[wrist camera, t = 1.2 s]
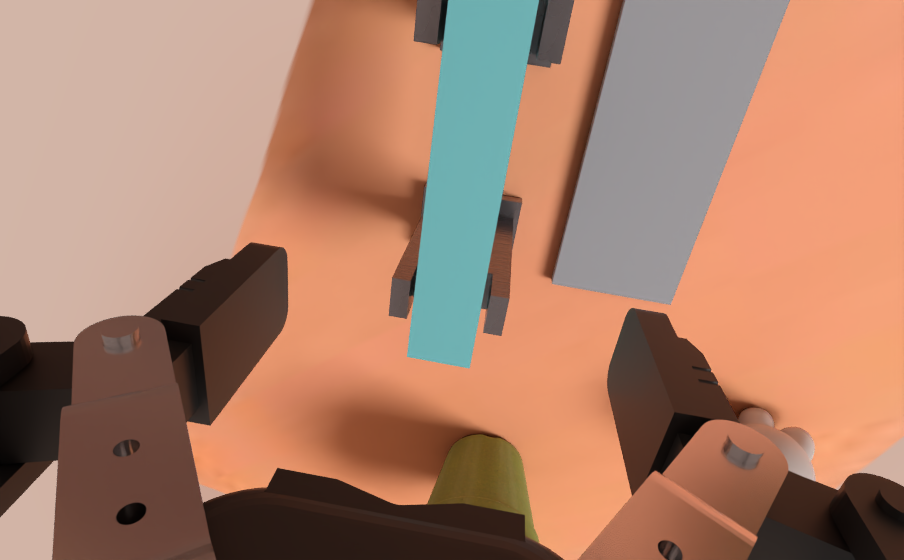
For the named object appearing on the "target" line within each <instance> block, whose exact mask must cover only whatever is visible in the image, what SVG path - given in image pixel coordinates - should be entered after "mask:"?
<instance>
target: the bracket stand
mask: <svg viewBox="0 0 904 560" xmlns="http://www.w3.org/2000/svg"><path fill="white" fill-rule="evenodd" d="M573 4H574V0H539V3H538V9H537V14H536V19H535V25H534V30H533V35H532V40H531V46H530V51H529V56H528V62H527V64H530V65H537V66H543V67H549V68H550V66H551V63H555V64H560V63H561V59H562V54H563V50H564V45H565V40H566V36H567V31H568V27H569V22H570V17H571V13H572V8H573ZM447 7H448V0H417V9H416V20H415V31H414V41H416V42H423V43H429V44H435V45H437V44H439V43H441V45H440V50H443V41H444V33H445V24H446V15H447ZM426 188H427V183H426V185H425V186H424V195H423V204H422V213H421V219H420V221H419V223H418V225H417V227H416V229H415V231H414V233H413V235H412V237H411V240H410V242H409V244H408V246H407V248H406V250H405V252H404V254H403V256H402V258H401V260H400V263H399V265H398V267H397V269H396V271H395V273H394V275H393V277H392V286H391V297H390V308H389V316H394V317H400V318H405V319H407V316H408V313H409V311H410V308H411V305H412V303H413V300H414V292H415V284H416V275H417V266H418V258H419V249H420V240H421V232H422V223H423V214H424V206H425V197H426ZM521 205H522V198H517V197H511V196H505V195H502V199H501V204H500V210H499V215H498V220H497V226H496V231H495V236H494V242H493V247H492V252H491V257H490V263H489V268H488V273H487V279H486V284H485V289H484V294H483V300H482V305H481V308H482V309H486V315H485V323H484V331H483V333H488V334H493V335H499V336H501V335H502V330H503V326H504V321H505V316H506V312H507V307H508V303H509V296H510V277H511V258H512V248H513V243H514V238H515V234H516V229H517V224H518V219H519V214H520V210H521Z"/></svg>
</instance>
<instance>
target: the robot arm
mask: <svg viewBox="0 0 904 560" xmlns="http://www.w3.org/2000/svg"><path fill="white" fill-rule="evenodd" d="M287 312H288V266H287V253H286V250H285V249H284V248H282V247H276V246H270V245H264V244H258V243H249V244H248V245H247V246H246V247H244V248H243V249H242V250H241V251H240V252H239V253H237V254H236V255H235V256H234V257H233V258H231V259H223V260H221V261H218V262H215V263H213V264H211V265H208V266H205V267H204V268H202V269H201V270H200V271H199V272H197V273H196V274H195V275H194V276H193V277H192V278H191V280H188V281H186V282H185V283H184V284H183V285H181V286H180V288H179V290H178V289H177V290H175V291H174V292H173V293H171V294H170V295H169V296H168V297H167V298H165V299H164V300H163V301H161V302H160V303H159V304H158V305H157V306H155V307H154V308H153V309H151V310H150V311H149V312H148V313H147V314H145V315H144V316H120V317H114V318H110V319H106V320H103V321H100V322H97V323H95V324H93V325H91V326H89V327H87V328H86V329H84V330H83V331H82V332H80V333H79V334H78V336H77V337H76V339H75V341H74V342H36V343H30V341H29V337H28V334H27V330H26V327H25V325H24V324H23V322H21V321H19V320H18V319H15V318H11V317H5V316H0V517H1V516H2V515H3V514H4V513H5V512H6V510H7V509H8V508H9V507H10V506H11V505H12V504H13V503H14V502H15V501H16V500H17V499H18V498H19V497H20V496H21V495H22V494H23V493H24V492H25V491H26V490H27V489H28V487H29V486H30V485H31V484H32V483H33V482H34V481H35V480H36V479H37V478H38V477H39V476H40V475H41V474H42V473H43V472H44V470H45V469H47V467H48V466H49V465H50V464H51V463H52V462H53V461H56V460H58V470H57V472H58V473H57V488H56V504H55V522H54V539H53V555H52V560H564V559H563V558H561V557H560V556H558V555H557V554H556V553H554V552H553V551H551V550H550V549H549V548H547V547H545V546H543V545H542V544H540V543H538V542H536V541H535V540H532V539H530V538H528V537H526V536H525V515H523V514H518V513H512V512H507V511H502V510H496V509H491V508H486V507H481V506H475V505H470V504H465V503H455V504H426V505H396V504H392V503H390V502H387V501H385V500H383V499H381V498H378V497H376V496H374V495H372V494H369V493H367V492H365V491H362V490H360V489H358V488H356V487H353V486H351V485H349V484H347V483H344V482H342V481H340V480H338V479H333V478H327V477H322V476H317V475H311V474H306V473H301V472H296V471H290V470H285V469H280V468H277V470H276V472H275V474H274V476H273V478H272V479H271V481H270V483H269V485H268V487H267V488H254V489H247V490H241V491H237V492H233V493H229V494H225V495H222V496H219V497H216V498H213V499H211V500H209V501H207V502H204V503H203V502H202V497H201V492H200V487H199V482H198V477H197V472H196V468H195V463H194V458H193V453H192V448H191V443H190V439H189V434H188V429H187V424H186V423H187V421H189V422H194V423H200V424H205V425H211V424H212V423H213V421H214V420H215V419H216V417H217V416H218V415H219V413H220V412H221V411H222V409H223V408H224V407H225V405H226V404H227V403H228V401H229V400H230V399H231V397H232V396H233V395H234V393H235V392H236V391H237V389H238V388H239V387H240V385H241V384H242V383H243V381H244V380H245V379H246V378H247V376H248V375H249V374H250V372H251V371H252V370H253V368H254V367H255V366H256V364H257V363H258V362H259V360H260V359H261V358H262V356H263V355H264V354H265V352H266V351H267V350H268V348H269V347H270V346H271V344H272V343H273V342H274V340H275V339H276V338H277V336H278V335H279V334H280V332H281V331H282V329H283V327H284V324H285V321H286V318H287ZM607 388H608V394H609V398H610V402H611V407H612V411H613V415H614V420H615V424H616V428H617V433H618V437H619V441H620V446H621V450H622V454H623V459H624V463H625V467H626V472H627V476H628V480H629V484H630V489H631V493H632V497H631V498H630V499H629V500H628V502H627V503H626V504H625V505H624V506H623V507H622V509H621V510H620V511H619V512H618V513H617V514H616V516H615V517H614V518H613V519H612V520H611V521H610V523H609V524H608V525H607V526H606V527H605V529H604V530H603V531H602V532H601V533H600V534H599V536H598V537H597V538H596V539H595V540H594V541H593V543H592V544H591V545H590V546H589V547H588V548H587V550H586V551H585V552H584V553H583V554H582V555H581V557H580V558H579V559H578V560H904V487H903V486H901V485H899V484H897V483H895V482H893V481H891V480H888V479H885V478H883V477H880V476H876V475H872V474H867V473H857V474H852V475H850V476H849V477H848V478H847V479H846V480H845V481H844V483H843V484H842V486H841V488H840V489H839V490H836V489H833V488H831V487H828V486H826V485H823V484H821V483H818V482H816V481H813V480H810V479H808V478H805V477H803V476H800V475H798V474H796V473H793V472H791V471H789V470H788V463H787V460H786V458H785V456H784V454H783V453H782V452H781V450H780V449H779V448H778V447H777V446H776V445H775V444H774V443H773V442H772V441H770V440H769V439H768V438H767V437H765V436H764V435H762V434H761V433H759V432H757V431H756V430H754V429H752V428H750V427H748V426H745V425H743V424H740V422H739V420H738V419H737V417H736V415H735V413H734V411H733V409H732V407H731V406H730V404H729V402H728V400H727V398H726V396H725V394H724V392H723V391H722V389H721V387H720V386H719V385H718V381H717V379H716V377H715V376H714V374H713V373H712V372H711V368H710V366H709V364H708V363H707V361H706V359H705V357H704V355H703V354H702V353H701V352H700V351H699V350H698V349H697V348H696V347H695V346H694V345H692V344H691V343H690V342H689V341H688V340H687V339H684V338H678V337H677V335H676V333H675V331H674V329H673V327H672V325H671V323H670V320H669V318H668V316H667V315H666V314H664V313H658V312H652V311H646V310H641V309H635V308H631V309H630V310H629V311H628V313H627V315H626V317H625V320H624V323H623V326H622V329H621V332H620V335H619V338H618V341H617V344H616V347H615V350H614V353H613V356H612V359H611V362H610V366H609V371H608V378H607Z"/></svg>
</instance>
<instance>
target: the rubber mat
mask: <svg viewBox="0 0 904 560" xmlns="http://www.w3.org/2000/svg"><path fill="white" fill-rule="evenodd" d="M789 1H790V0H623V3H622V7H621V10H620V14H619V18H618V22H617V26H616V30H615V34H614V38H613V42H612V45H611V49H610V53H609V57H608V61H607V65H606V69H605V73H604V77H603V80H602V84H601V88H600V92H599V96H598V100H597V104H596V108H595V112H594V115H593V119H592V123H591V127H590V131H589V135H588V139H587V143H586V147H585V151H584V154H583V158H582V162H581V166H580V170H579V174H578V178H577V182H576V186H575V189H574V193H573V197H572V201H571V205H570V209H569V213H568V217H567V221H566V224H565V228H564V232H563V236H562V240H561V244H560V248H559V252H558V256H557V260H556V263H555V267H554V271H553V275H552V284H556V285H561V286H567V287H573V288H578V289H584V290H590V291H595V292H601V293H607V294H612V295H618V296H624V297H629V298H635V299H641V300H646V301H652V302H658V303H663V304H669V305H671V302H672V300H673V297H674V295H675V292H676V290H677V287H678V284H679V282H680V279H681V277H682V274H683V272H684V269H685V267H686V264H687V261H688V259H689V256H690V254H691V251H692V249H693V246H694V244H695V241H696V238H697V236H698V233H699V231H700V228H701V226H702V223H703V221H704V218H705V216H706V213H707V210H708V208H709V205H710V203H711V200H712V198H713V195H714V193H715V190H716V187H717V185H718V182H719V180H720V177H721V175H722V172H723V170H724V167H725V164H726V162H727V159H728V157H729V154H730V152H731V149H732V147H733V144H734V141H735V139H736V136H737V134H738V131H739V129H740V126H741V124H742V121H743V119H744V116H745V113H746V111H747V108H748V106H749V103H750V101H751V98H752V96H753V93H754V90H755V88H756V85H757V83H758V80H759V78H760V75H761V73H762V70H763V67H764V65H765V62H766V60H767V57H768V55H769V52H770V50H771V47H772V44H773V42H774V39H775V37H776V34H777V32H778V29H779V27H780V24H781V22H782V19H783V16H784V14H785V11H786V9H787V6H788V4H789Z"/></svg>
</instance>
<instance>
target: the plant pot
mask: <svg viewBox="0 0 904 560" xmlns="http://www.w3.org/2000/svg"><path fill="white" fill-rule="evenodd" d="M455 503H465V504H470V505H475V506H481V507H486V508H491V509H496V510H502V511H507V512H512V513H518V514H523V515H525V536H526V537H528V538H530V539H532V540H535V541H536V542H538V543H539V540H538V536H537V534H536V531H535V529H534V525H533V519H532V513H531V508H530V502H529V497H528V491H527V485H526V479H525V473H524V468H523V463H522V459H521V456H520V454H519V452H518V451H517V450H516V448H515V447H514V446H512V445H511V444H510V443H508V442H507V441H505V440H503V439H501V438H493V437H488V436H485V435H483V434H477V435H470V436H467V437H464V438H462V439H460V440H458V441H457V442H456V443H455V444H454V445H453V446H452V447H451V449H450V450H449V452H448V455H447V457H446V459H445V462H444V464H443V467H442V469H441V472H440V474H439V477H438V479H437V481H436V484H435V486H434V489H433V491H432V494H431V496H430V499H429V501H428V504H455Z"/></svg>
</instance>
